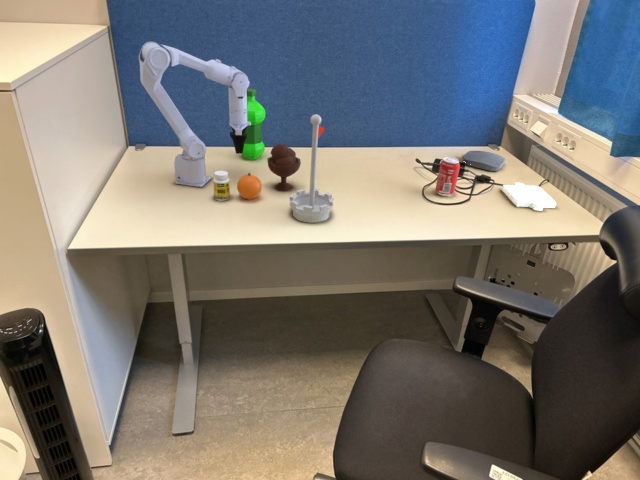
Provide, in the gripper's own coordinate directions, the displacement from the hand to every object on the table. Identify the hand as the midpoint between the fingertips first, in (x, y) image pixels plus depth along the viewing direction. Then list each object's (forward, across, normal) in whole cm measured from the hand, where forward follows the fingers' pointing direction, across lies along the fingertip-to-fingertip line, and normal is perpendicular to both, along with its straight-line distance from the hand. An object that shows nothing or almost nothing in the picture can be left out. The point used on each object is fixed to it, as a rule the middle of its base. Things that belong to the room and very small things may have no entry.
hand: (239, 149), depth 158 cm
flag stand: (+10, -30, -21) cm, 38 cm away
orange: (+9, -18, -3) cm, 21 cm away
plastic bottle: (+10, +18, -4) cm, 21 cm away
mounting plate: (+10, -21, -96) cm, 99 cm away
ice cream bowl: (+10, -10, -14) cm, 20 cm away
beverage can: (+10, -16, -68) cm, 71 cm away
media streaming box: (+10, +11, -96) cm, 97 cm away
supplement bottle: (+10, -18, +6) cm, 21 cm away
